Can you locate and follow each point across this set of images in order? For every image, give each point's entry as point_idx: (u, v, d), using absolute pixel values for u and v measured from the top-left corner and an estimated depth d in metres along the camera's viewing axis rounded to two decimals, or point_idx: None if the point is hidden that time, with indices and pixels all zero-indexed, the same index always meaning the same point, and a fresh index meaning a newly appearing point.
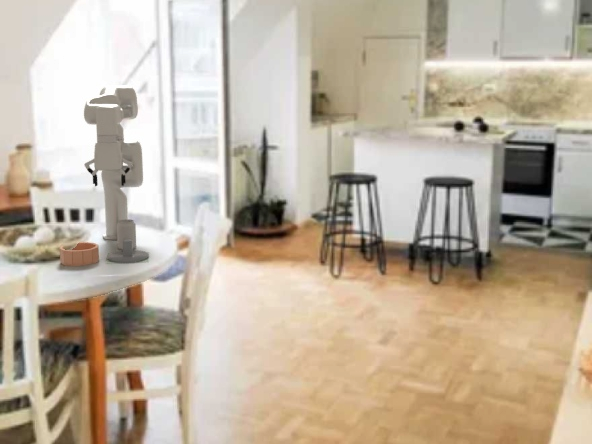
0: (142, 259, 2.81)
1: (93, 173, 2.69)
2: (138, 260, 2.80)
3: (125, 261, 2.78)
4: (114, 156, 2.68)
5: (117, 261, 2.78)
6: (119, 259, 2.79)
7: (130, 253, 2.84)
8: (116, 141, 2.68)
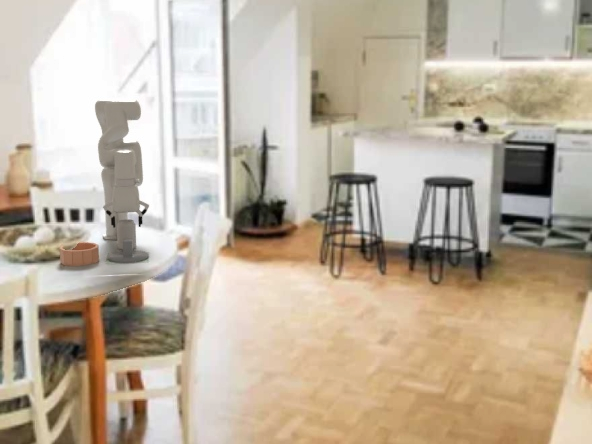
0: (142, 259, 2.81)
1: (111, 215, 2.80)
2: (138, 260, 2.80)
3: (125, 261, 2.78)
4: (132, 199, 2.79)
5: (117, 261, 2.78)
6: (119, 259, 2.79)
7: (130, 253, 2.84)
8: (133, 184, 2.79)
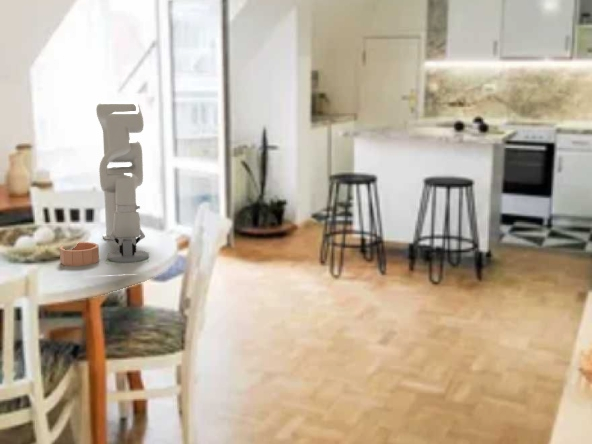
0: (142, 259, 2.81)
1: (120, 243, 2.83)
2: (138, 260, 2.80)
3: (125, 261, 2.78)
4: (132, 224, 2.81)
5: (117, 261, 2.78)
6: (119, 259, 2.79)
7: (130, 253, 2.84)
8: (134, 210, 2.81)
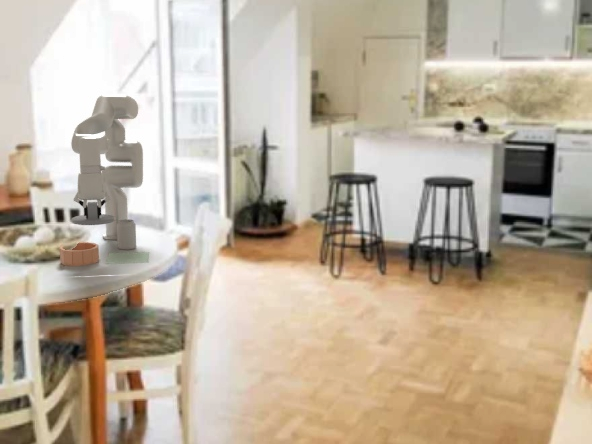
0: (107, 221, 2.75)
1: (84, 205, 2.76)
2: (103, 222, 2.73)
3: (90, 223, 2.71)
4: (97, 186, 2.74)
5: (82, 223, 2.71)
6: (84, 221, 2.72)
7: (95, 216, 2.77)
8: (99, 171, 2.74)
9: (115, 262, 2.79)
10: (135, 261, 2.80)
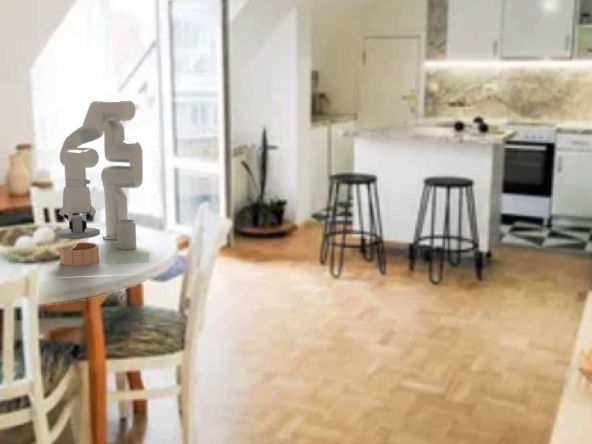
0: (92, 235, 2.74)
1: (69, 219, 2.75)
2: (87, 236, 2.72)
3: (74, 237, 2.70)
4: (82, 199, 2.74)
5: (66, 237, 2.71)
6: (68, 235, 2.72)
7: (80, 229, 2.76)
8: (84, 185, 2.73)
9: (115, 262, 2.79)
10: (135, 261, 2.80)
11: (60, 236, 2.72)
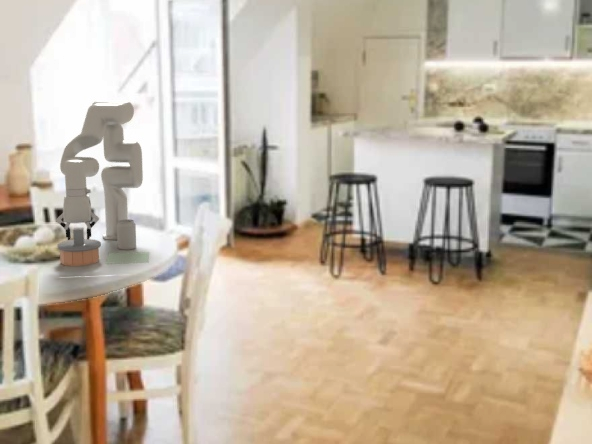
0: (93, 248, 2.75)
1: (66, 227, 2.76)
2: (88, 249, 2.74)
3: (75, 250, 2.72)
4: (83, 209, 2.75)
5: (67, 250, 2.72)
6: (69, 248, 2.73)
7: (81, 242, 2.78)
8: (85, 194, 2.74)
9: (115, 262, 2.79)
10: (135, 261, 2.80)
11: (61, 249, 2.73)
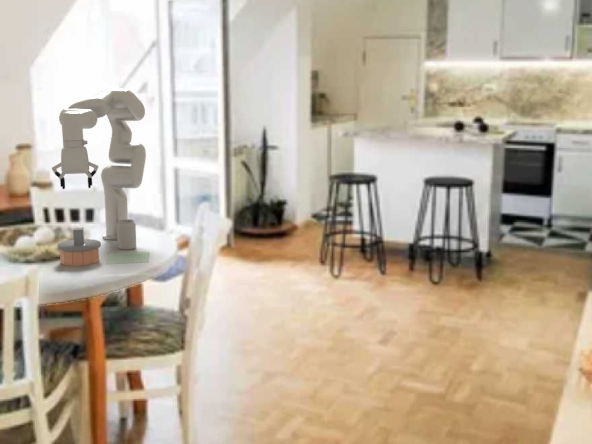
0: (93, 248, 2.75)
1: (60, 176, 2.80)
2: (88, 249, 2.74)
3: (75, 250, 2.72)
4: (80, 160, 2.79)
5: (67, 250, 2.72)
6: (69, 248, 2.73)
7: (81, 242, 2.78)
8: (82, 145, 2.78)
9: (115, 262, 2.79)
10: (135, 261, 2.80)
11: (61, 249, 2.73)
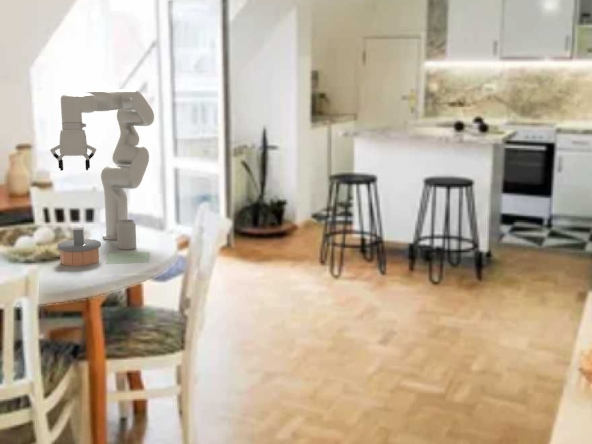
0: (93, 248, 2.75)
1: (59, 158, 2.86)
2: (88, 249, 2.74)
3: (75, 250, 2.72)
4: (78, 142, 2.85)
5: (67, 250, 2.72)
6: (69, 248, 2.73)
7: (81, 242, 2.78)
8: (80, 128, 2.84)
9: (115, 262, 2.79)
10: (135, 261, 2.80)
11: (61, 249, 2.73)
